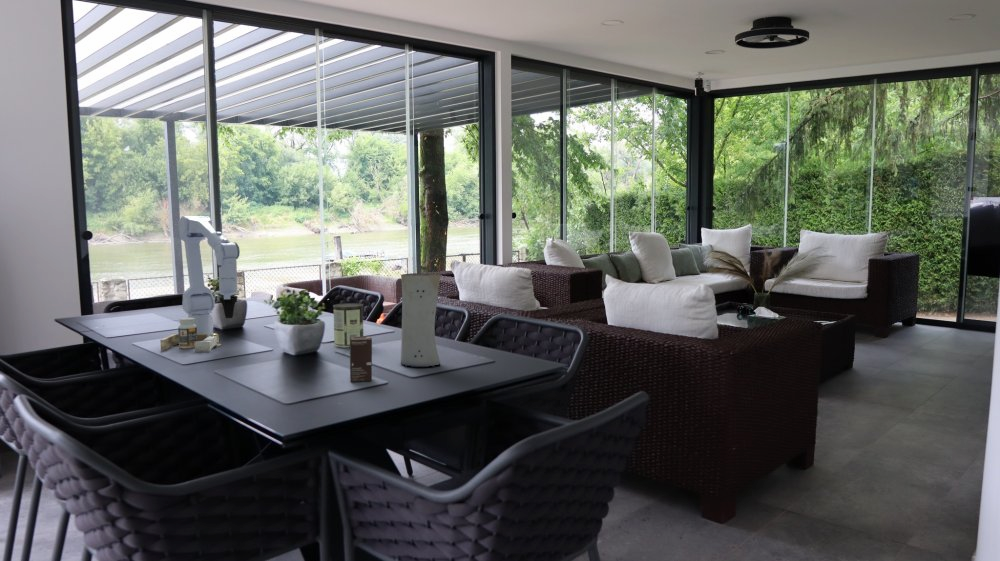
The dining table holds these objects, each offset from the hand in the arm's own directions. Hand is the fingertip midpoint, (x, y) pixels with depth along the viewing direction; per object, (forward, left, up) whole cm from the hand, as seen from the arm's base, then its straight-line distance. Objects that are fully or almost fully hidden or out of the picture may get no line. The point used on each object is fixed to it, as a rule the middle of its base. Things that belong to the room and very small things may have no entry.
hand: (229, 317), depth 248 cm
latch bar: (+2, -6, -9) cm, 11 cm away
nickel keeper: (+7, -6, -10) cm, 14 cm away
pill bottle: (+2, -13, -10) cm, 17 cm away
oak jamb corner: (+1, -15, -10) cm, 18 cm away
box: (+50, +51, -10) cm, 72 cm away
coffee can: (-2, +40, -10) cm, 41 cm away
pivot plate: (-2, -6, -10) cm, 12 cm away
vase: (+29, +67, -10) cm, 74 cm away
